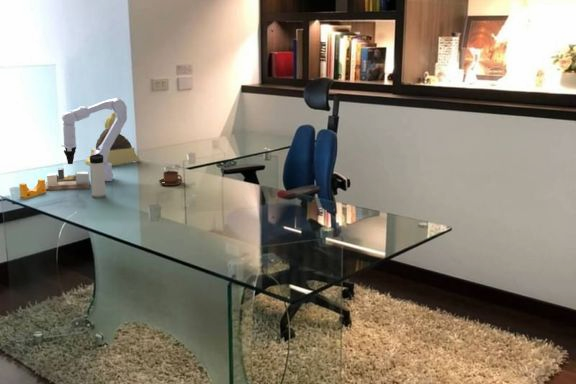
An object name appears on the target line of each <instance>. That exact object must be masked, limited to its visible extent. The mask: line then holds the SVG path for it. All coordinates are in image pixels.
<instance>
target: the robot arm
mask: <svg viewBox="0 0 576 384" xmlns="http://www.w3.org/2000/svg"><path fill="white" fill-rule="evenodd" d="M103 110H111V111H113V112H115V115H116V116H115V117H116V119H115V121H114V123H113V125H112V127H111V128H110V130H109V132H108V134H107V135H106V137H105V139H104V141H103V142H102V144H101V145H100V146H99V147H98V149H96V148H95V149H96V150H95V151H94V152H93V155H96V154H100V155H103V161H104V176H105V182H113V177H114V176H113V175H114V174H113V167H112V166H113V165H112V163H108V162H107V159H108V154H109V151H110V148H111V146H112V145H113V143H114V141H115V139H116V138H117V136H118V134H119V132H120V131H121V132H122V129H123V127H124V125H125V124H126V122H127V119H128V115H127V112H128V111H127V110H128V108H127V104H126V103H125V101H124V100H122V99H121V98H119V97H113V98H109V99H107V100H104V101H101V102H98V103H97V104H96V103H95V104H94V105H91V106H88V107H87V106H81V105H80V106H79V107H78V108H77V109H74V110H72V109H71V110H70V111H66V112H64V113H63V114H62V117H61V119H62V121H63V123H62V124H63V127H62V129H63V132H62V133H63V144H61V147H63V148H64V150H63V153H64V154H65V157H66V161H67V165H73V163H74V159H75V154H76V150H77V142H76V141H77V140H76V139H77V137H76V126H75V122H79V121H81V120H84V119H88V118H90V115H91V114H95V113H97V112H100V111H103ZM121 132H120V133H121Z"/></svg>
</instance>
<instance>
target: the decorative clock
mask: <svg viewBox="0 0 576 384" xmlns="http://www.w3.org/2000/svg"><path fill="white" fill-rule="evenodd" d="M115 120H116V115H115V112H114V111H112V112H111V114H110V115H109V116H107V117H106V119H105V121H104V130H103V131H102V133H101V134H100V135H99V138H98V139H97V140H96V143H95V148H91V149H90V151H91V152H90V155H89V157H87V158H86V159H85V160H84V164H85V165H88V166H89V167H90V156H91V155H93V152H94V151H95V150H96V149H98V147H99V146H100V145H101V144H102V142H103V141H104V139H105V137H106V135H107V134H108V132H109V130H110V128H111V127H112V125H113V123H114V121H115ZM121 133H122V130H121V131H120V132H119V134H118V136H117V138H116V139H115V141H114V143H113V145H112V146H111V148H110V151H109V154H108V159H107V162H108V163H112V166H118V165H124V164H123V163H126V164H129V163H128V162H133V161H140V162H141V159H140V157H138V155H137V154H136V151H135V147H133V146H132V144H131V142H130V141H129V139H128V138H126V136H124V135H122V134H121ZM133 163H134V162H133Z"/></svg>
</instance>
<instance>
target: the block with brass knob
mask: <svg viewBox="0 0 576 384" xmlns="http://www.w3.org/2000/svg"><path fill="white" fill-rule="evenodd" d="M66 181H76V174H70V175H69V174H67V175H65V170H64V167H62V168H61V167H60V168H58V169H57V182H66Z"/></svg>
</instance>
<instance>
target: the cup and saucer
mask: <svg viewBox="0 0 576 384" xmlns="http://www.w3.org/2000/svg"><path fill="white" fill-rule="evenodd" d="M179 177H180V178H179ZM158 182H159V184H161V185H163V186H168V185H172V186H179V185H180V184H182V183H183V182H184V181H183V177H182V175H180V174H179V172H178V171H176V170H175V171H174V170H166V171H163V178H161V179H159V180H158ZM162 182H165V183H162Z"/></svg>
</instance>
